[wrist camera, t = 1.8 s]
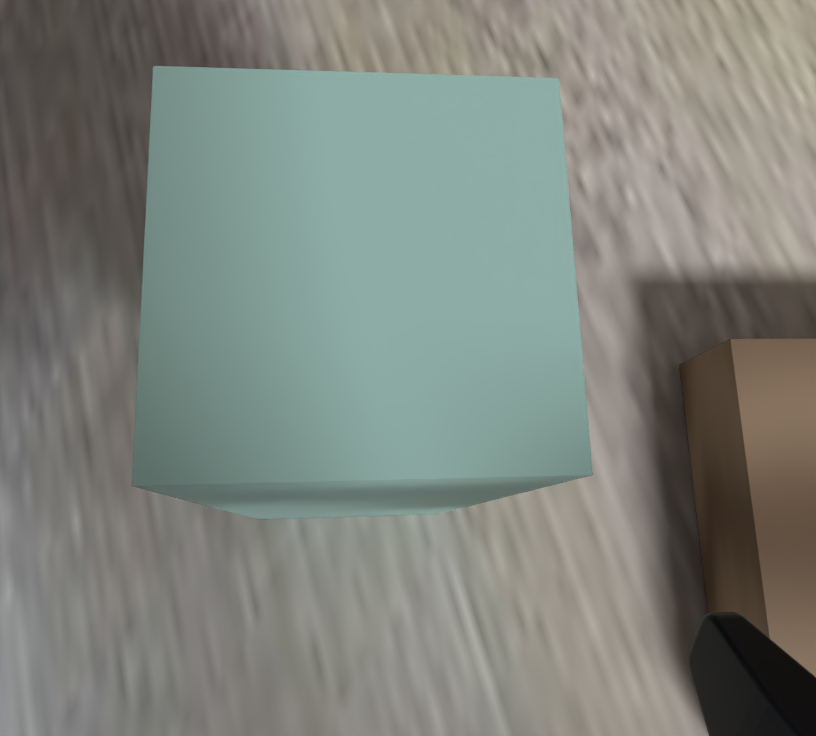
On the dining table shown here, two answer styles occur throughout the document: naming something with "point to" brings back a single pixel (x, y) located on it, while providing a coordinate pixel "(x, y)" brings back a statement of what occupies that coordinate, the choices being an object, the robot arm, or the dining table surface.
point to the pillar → (356, 293)
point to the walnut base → (757, 483)
